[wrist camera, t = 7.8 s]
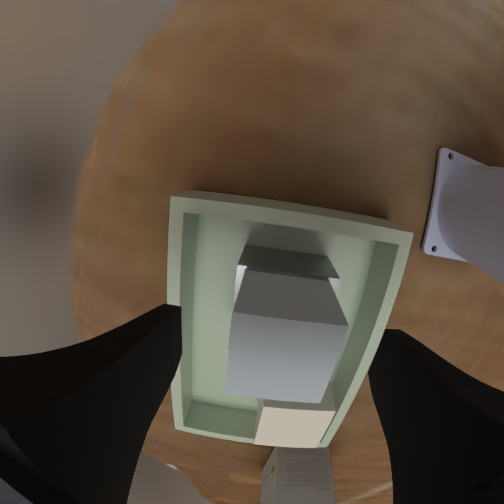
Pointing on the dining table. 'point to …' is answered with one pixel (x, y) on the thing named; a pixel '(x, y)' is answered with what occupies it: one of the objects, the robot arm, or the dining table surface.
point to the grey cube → (284, 338)
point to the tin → (284, 266)
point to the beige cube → (293, 421)
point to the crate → (223, 286)
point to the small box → (298, 477)
